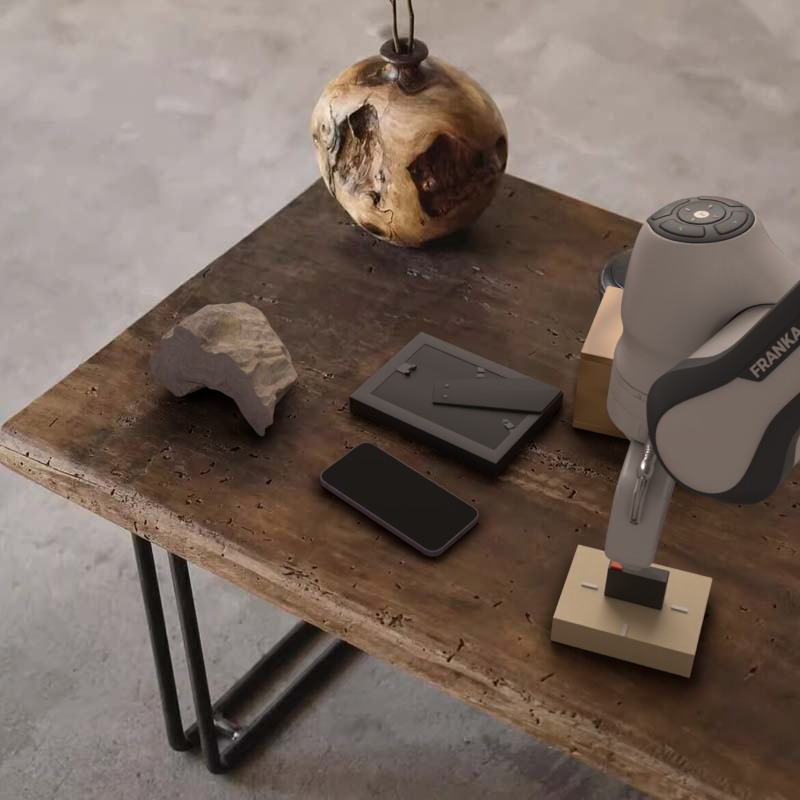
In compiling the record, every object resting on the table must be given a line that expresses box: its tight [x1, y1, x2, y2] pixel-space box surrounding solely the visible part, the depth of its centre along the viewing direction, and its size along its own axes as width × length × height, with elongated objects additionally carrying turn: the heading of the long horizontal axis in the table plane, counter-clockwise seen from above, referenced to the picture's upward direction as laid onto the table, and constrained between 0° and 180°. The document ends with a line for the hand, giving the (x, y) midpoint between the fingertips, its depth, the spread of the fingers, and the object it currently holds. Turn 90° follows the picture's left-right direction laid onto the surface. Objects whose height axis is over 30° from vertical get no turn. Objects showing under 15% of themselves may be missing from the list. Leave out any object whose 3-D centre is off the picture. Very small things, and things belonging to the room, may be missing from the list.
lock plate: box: [550, 544, 713, 679], centre depth 114 cm, size 12×9×3 cm
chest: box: [572, 357, 630, 441], centre depth 134 cm, size 14×12×9 cm
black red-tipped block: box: [604, 560, 670, 610], centre depth 112 cm, size 5×2×4 cm, turn 71°
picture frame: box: [348, 331, 565, 479], centre depth 136 cm, size 13×2×18 cm
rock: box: [148, 301, 299, 437], centre depth 137 cm, size 16×13×10 cm
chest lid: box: [579, 285, 624, 365], centre depth 130 cm, size 15×12×5 cm
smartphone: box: [319, 441, 479, 557], centre depth 126 cm, size 7×1×15 cm
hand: (644, 522), depth 107 cm, fingers open, 8 cm apart
